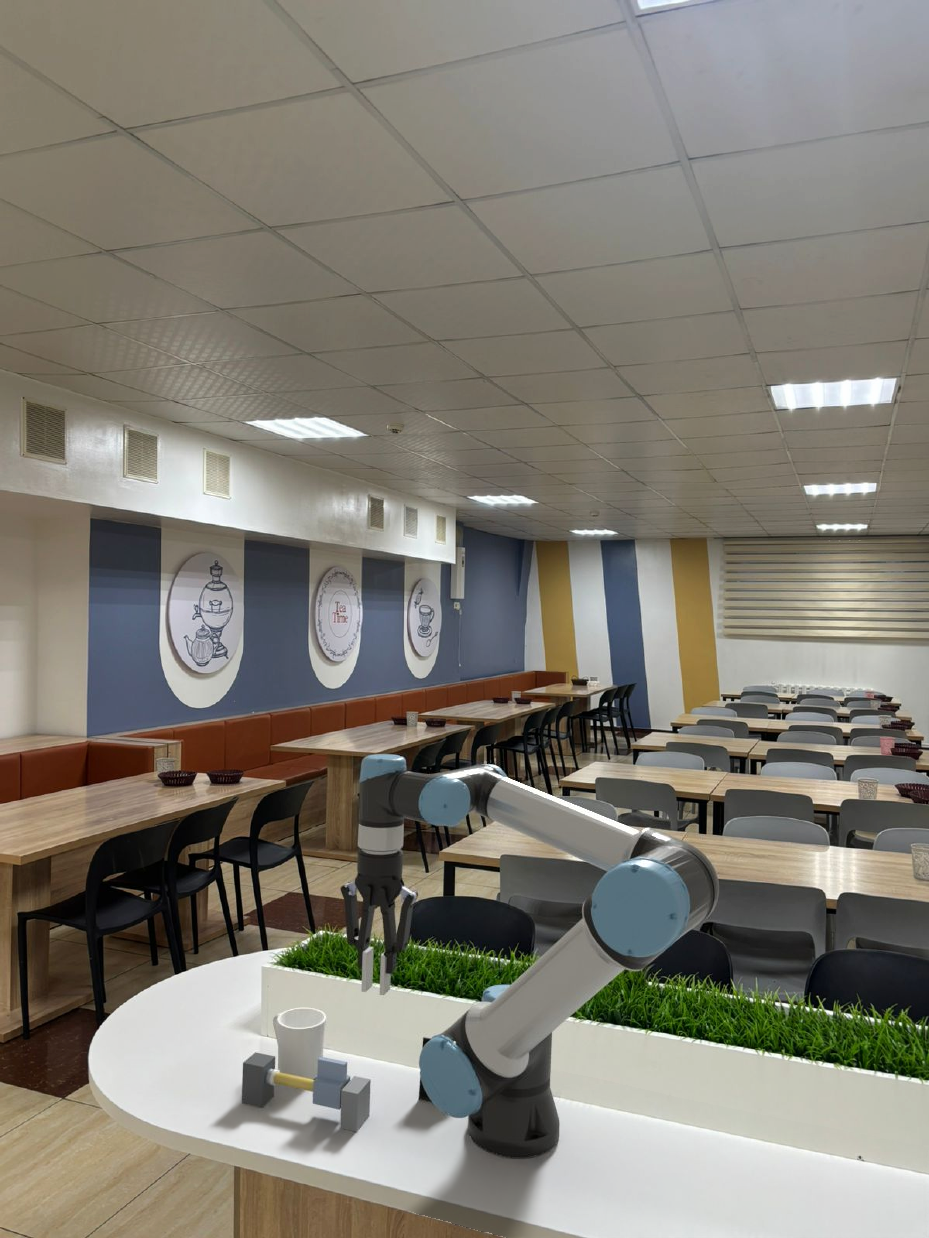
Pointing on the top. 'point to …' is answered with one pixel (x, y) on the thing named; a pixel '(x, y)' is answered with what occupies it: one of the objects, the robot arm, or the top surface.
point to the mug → (300, 1041)
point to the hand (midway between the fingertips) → (375, 989)
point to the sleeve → (330, 1082)
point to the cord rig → (265, 1076)
